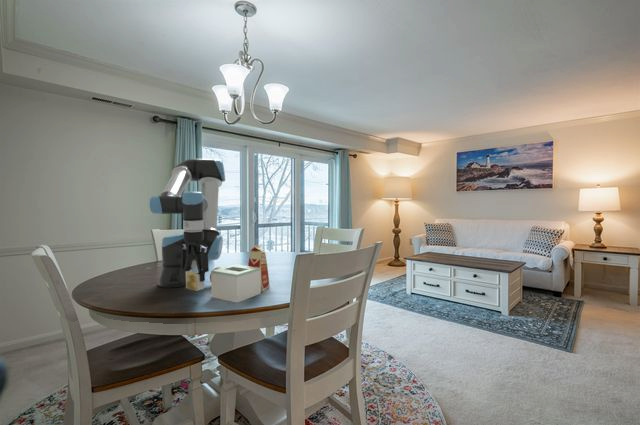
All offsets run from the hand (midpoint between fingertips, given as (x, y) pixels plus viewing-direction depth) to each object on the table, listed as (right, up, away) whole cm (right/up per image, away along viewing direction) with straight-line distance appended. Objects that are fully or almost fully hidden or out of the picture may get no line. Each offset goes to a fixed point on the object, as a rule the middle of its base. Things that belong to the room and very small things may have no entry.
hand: (195, 287), depth 134 cm
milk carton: (+22, -4, +16) cm, 27 cm away
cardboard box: (0, 0, 0) cm, 0 cm away
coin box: (+16, -4, +4) cm, 17 cm away
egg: (+3, -4, +19) cm, 20 cm away
